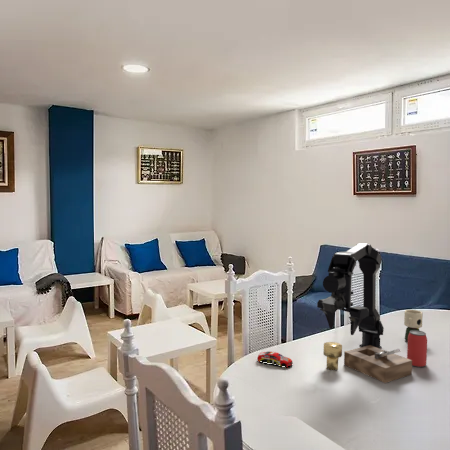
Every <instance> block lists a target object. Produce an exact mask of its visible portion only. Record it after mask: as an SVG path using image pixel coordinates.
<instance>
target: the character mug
mask: <svg viewBox="0 0 450 450" xmlns="http://www.w3.org/2000/svg"><path fill="white" fill-rule="evenodd" d="M403 321H404V323H403V325H404V326H406V329H405V334H404V340H405V341H408V335H409V333H410V331H411V330H418V331H421V330H420V328H422V327H423V311H421V310H417V309H405V310H404V320H403Z"/></svg>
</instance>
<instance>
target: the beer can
mask: <svg viewBox="0 0 450 450" xmlns="http://www.w3.org/2000/svg"><path fill="white" fill-rule="evenodd" d="M406 348H407V350H406V351H407V352H406V358H407V359H410V360H412V367H417V368H424V367H425V366H427V360H428V359H427V357H428V356H427V355H428V338H427V333H426V332H425V331H422V330H420V331H418V330H411V331H410V333H409V335H408V340H407V347H406Z"/></svg>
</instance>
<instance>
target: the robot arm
mask: <svg viewBox="0 0 450 450" xmlns="http://www.w3.org/2000/svg"><path fill="white" fill-rule="evenodd" d="M357 263H358V268H359V270H360V272H362V275H363V278H362V279H363V282H362V283H363V288H362V289H363V290H362V291H363V295H362V296H363V297H362V298H363V304H362V305H363V306H360V305H358V306H354V303H353V302H352V295H354V290H352V280H353V279H352V278H353V277H352V276H353V275H354V269H355V267H356V266H357ZM381 265H382V256H381V254H380V252H379V250H377V249H375V248H373V246H372V245H371V244H369V243H366V242H365V243H362V242H358V243H356V244H355V245H354V246H353V247H351V248H349V249H348V250H345V251H339V252H338V251H337V252H335V253H334V254H333V256H332V257H331V260H330V263H329V266H328V269H327V273H328V275H327V276H325V277H324V279H323V280H322V287H323V288H324V290H325V291H326V292H328V293H331V294H330V296H328V297H327V298H323V299H321V298H320V299H318V300H317V303H316V308H318V309H319V310H320V311H321V312H322V313H323V314H324V315H325V318H326V321H327V324H328V326H329V329H330V330H331V329H333V327H334V324H335V323H334V322H335V315H336V312H337V311H338V310H339V311H341V312H342V311H343V312H347V313H349V317H348V318H349V320H350V332H349V333H350V336H353V335H355V332H356V330H357V329H358V332H360V333H362V334H361V341H362V343H361V344H359V347H360V348H361V347H365V346H369V345H371V346H374V347H377V348H379V349H382V348H383V347H382V346H381V337H380V336H383V335H384V332H385V331H384V329H385V328H384V325H383V324H382V321H381V315H380V313H379V312H378V310H377V307H376V303H377V299H376V298H377V297H376V295H377V294H376V293H377V292H376V291H377V289H376V288H377V275H376V274H377V273H378V271H379V270H380V269H381Z"/></svg>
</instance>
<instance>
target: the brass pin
mask: <svg viewBox="0 0 450 450" xmlns="http://www.w3.org/2000/svg"><path fill="white" fill-rule="evenodd" d="M322 354H323V356H324V357H326V369H327V370H329V371H337V370H339V358H341V357H343V345H342V344H341V343H339V342H335V341H334V342H333V341H328V342H324V343H323V353H322Z"/></svg>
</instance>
